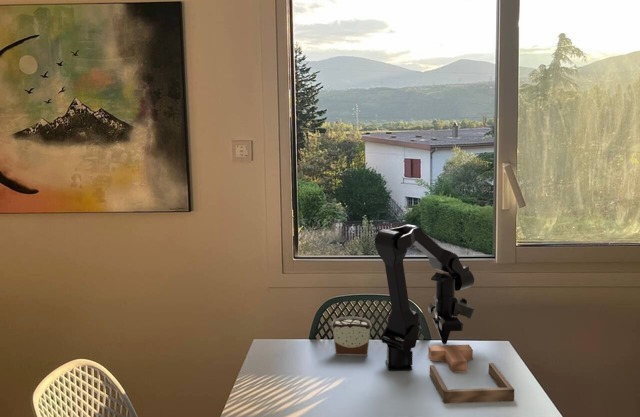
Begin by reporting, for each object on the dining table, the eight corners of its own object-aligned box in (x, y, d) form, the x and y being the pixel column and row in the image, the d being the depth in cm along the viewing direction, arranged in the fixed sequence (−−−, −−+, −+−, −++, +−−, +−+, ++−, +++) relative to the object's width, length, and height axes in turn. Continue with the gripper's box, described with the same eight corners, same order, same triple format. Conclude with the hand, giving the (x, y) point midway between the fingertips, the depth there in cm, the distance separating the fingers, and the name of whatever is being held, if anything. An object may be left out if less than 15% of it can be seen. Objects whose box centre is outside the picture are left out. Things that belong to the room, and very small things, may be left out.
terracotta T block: (437, 372, 168) (437, 362, 168) (428, 355, 180) (428, 345, 180) (480, 371, 169) (481, 360, 168) (468, 354, 181) (468, 344, 180)
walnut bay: (444, 403, 150) (444, 391, 150) (429, 375, 166) (429, 365, 166) (514, 400, 151) (514, 389, 151) (492, 373, 167) (493, 363, 167)
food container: (372, 347, 187) (372, 316, 185) (372, 355, 181) (372, 323, 179) (332, 346, 188) (332, 315, 186) (330, 354, 182) (330, 322, 180)
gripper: (481, 302, 174) (480, 354, 176) (463, 284, 192) (462, 332, 195) (442, 303, 173) (441, 355, 176) (428, 285, 192) (427, 333, 194)
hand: (444, 343), depth 185 cm, fingers closed
